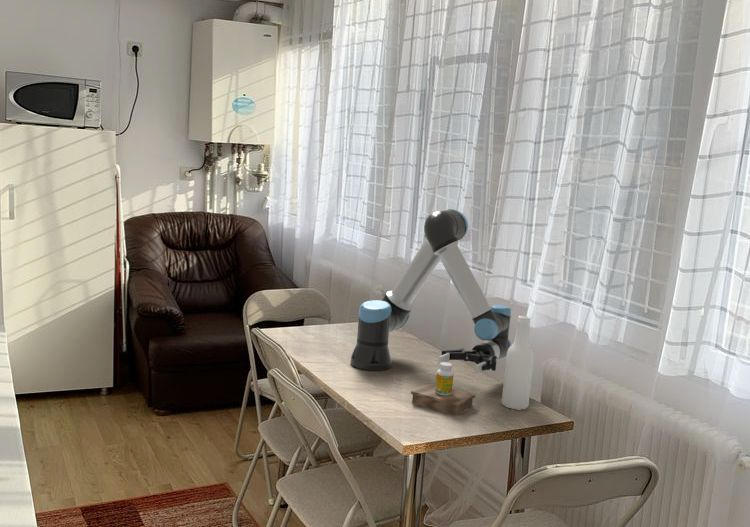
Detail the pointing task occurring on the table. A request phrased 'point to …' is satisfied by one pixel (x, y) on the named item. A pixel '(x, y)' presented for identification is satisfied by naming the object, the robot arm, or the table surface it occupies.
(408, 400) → the table surface
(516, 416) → the table surface
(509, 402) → the alcohol
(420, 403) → the stand
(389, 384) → the table surface
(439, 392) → the supplement bottle
